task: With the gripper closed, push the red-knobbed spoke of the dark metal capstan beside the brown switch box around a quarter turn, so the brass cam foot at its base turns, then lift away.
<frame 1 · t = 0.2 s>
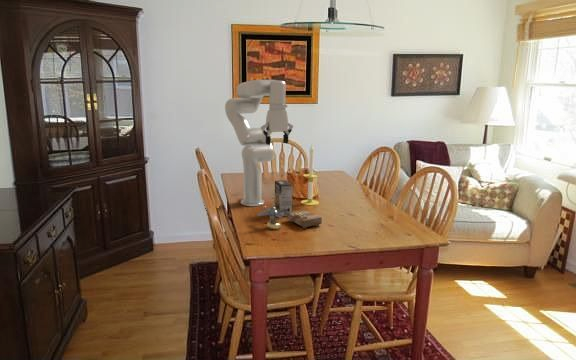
hand: (277, 143, 219), 36 cm above the table, tool pointing down, fingers open, 9 cm apart
coffee box: (282, 213, 232), on the table
brown switch box: (304, 223, 217), on the table
capstan: (271, 216, 211), point 5 cm above the table, hinge at 0.0°
candle: (309, 203, 251), on the table
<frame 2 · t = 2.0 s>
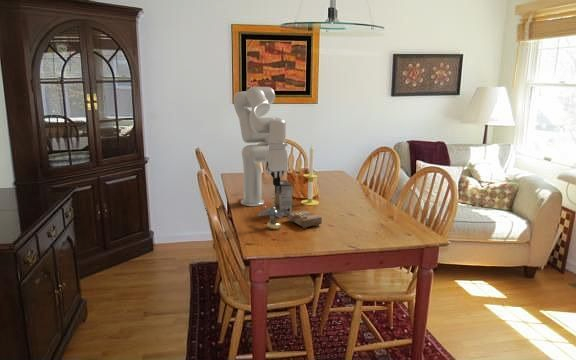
hand: (276, 185, 214), 18 cm above the table, tool pointing down, fingers closed
nothing on the table moved.
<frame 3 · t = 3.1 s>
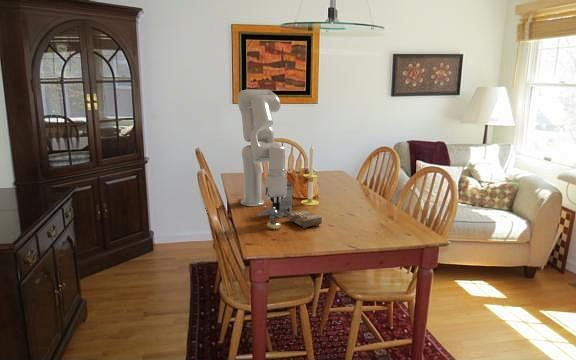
hand: (275, 210, 217), 6 cm above the table, tool pointing down, fingers closed
nothing on the table moved.
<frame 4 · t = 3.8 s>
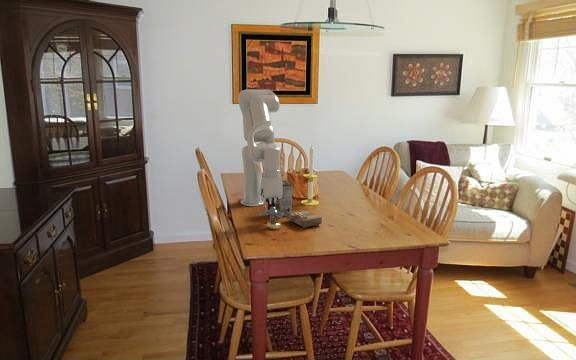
hand: (271, 211, 216), 6 cm above the table, tool pointing down, fingers closed
capstan: (271, 216, 211), point 5 cm above the table, hinge at 0.0°, touching gripper
everything else where it was.
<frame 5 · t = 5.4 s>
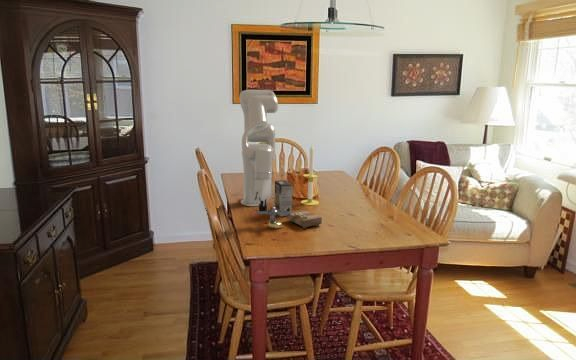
hand: (262, 213, 212), 6 cm above the table, tool pointing down, fingers closed
capstan: (271, 216, 210), point 5 cm above the table, hinge at 59.1°, touching gripper
everything else where it was.
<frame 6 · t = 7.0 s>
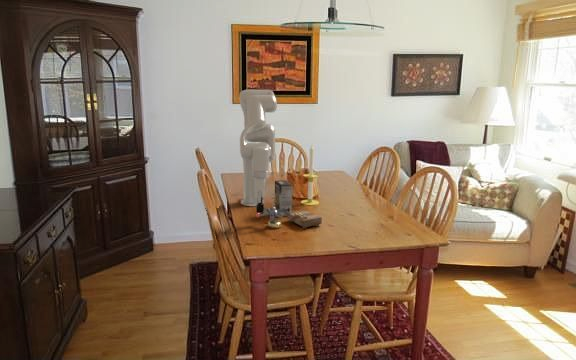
hand: (260, 212, 213), 6 cm above the table, tool pointing down, fingers closed
capstan: (271, 217, 210), point 5 cm above the table, hinge at 91.1°
everything else where it was.
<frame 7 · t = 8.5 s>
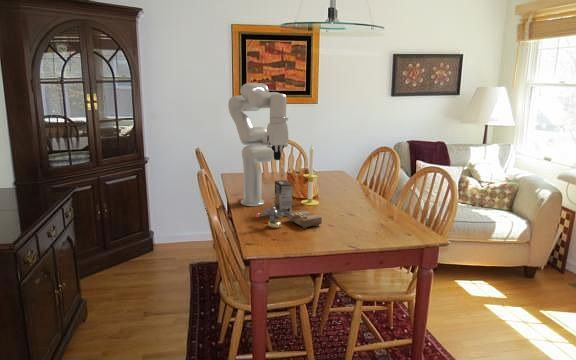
hand: (277, 159, 217), 29 cm above the table, tool pointing down, fingers closed
nothing on the table moved.
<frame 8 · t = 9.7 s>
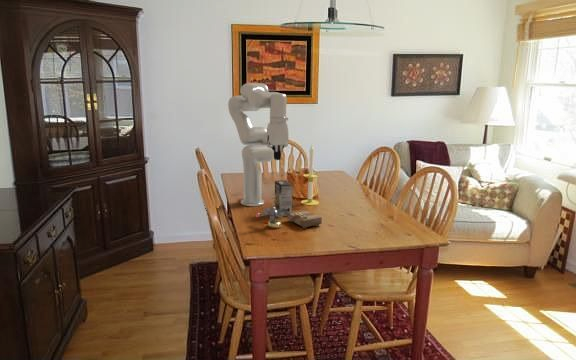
hand: (277, 159, 217), 29 cm above the table, tool pointing down, fingers closed
nothing on the table moved.
at the end: capstan at +91° (first picture: +0°); coffee box moved 0.2 cm from its start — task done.
